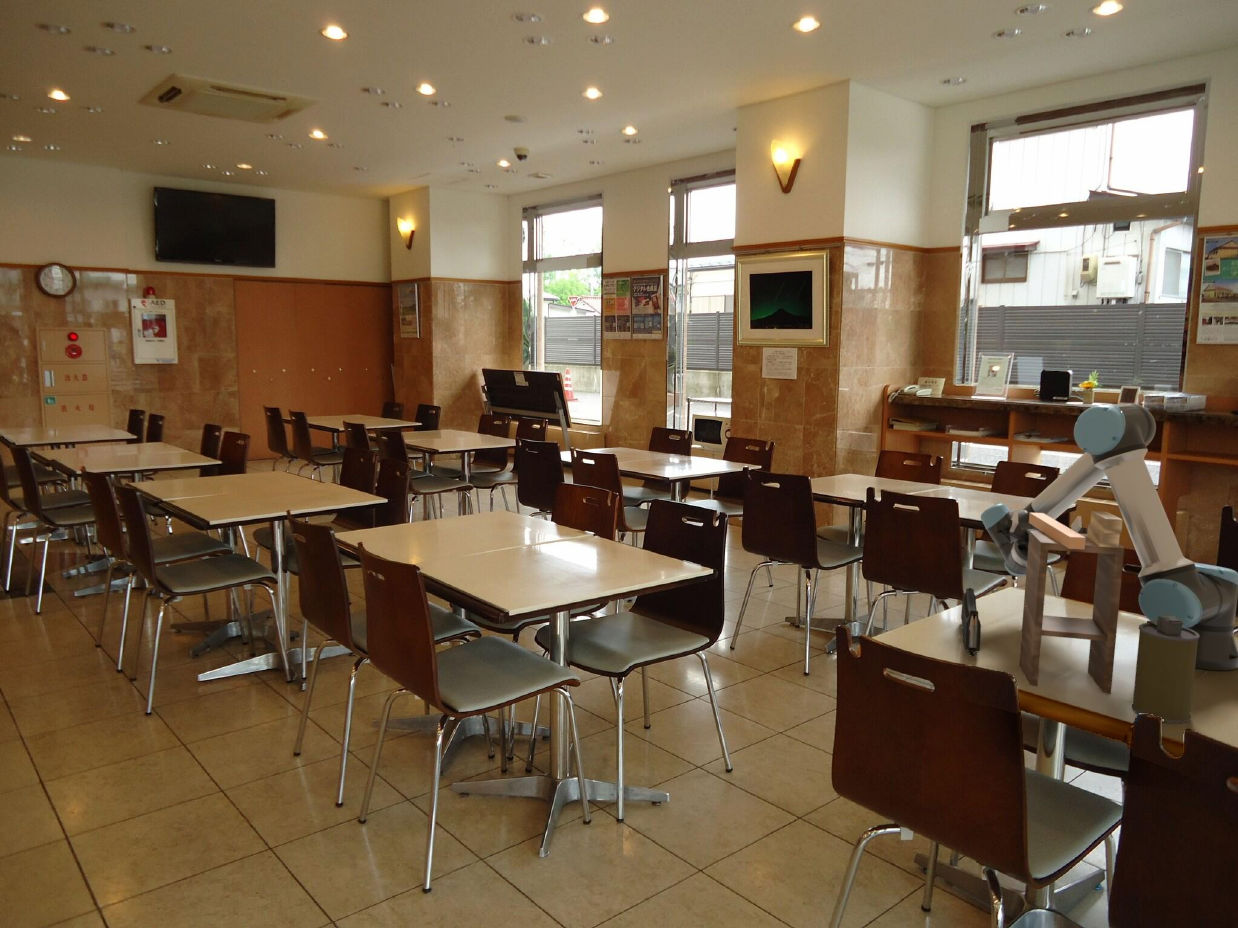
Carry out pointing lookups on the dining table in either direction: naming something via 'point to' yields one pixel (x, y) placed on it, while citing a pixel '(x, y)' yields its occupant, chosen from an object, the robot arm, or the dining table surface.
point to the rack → (1096, 630)
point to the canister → (1165, 669)
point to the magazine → (970, 622)
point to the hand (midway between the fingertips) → (1047, 519)
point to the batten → (1057, 531)
